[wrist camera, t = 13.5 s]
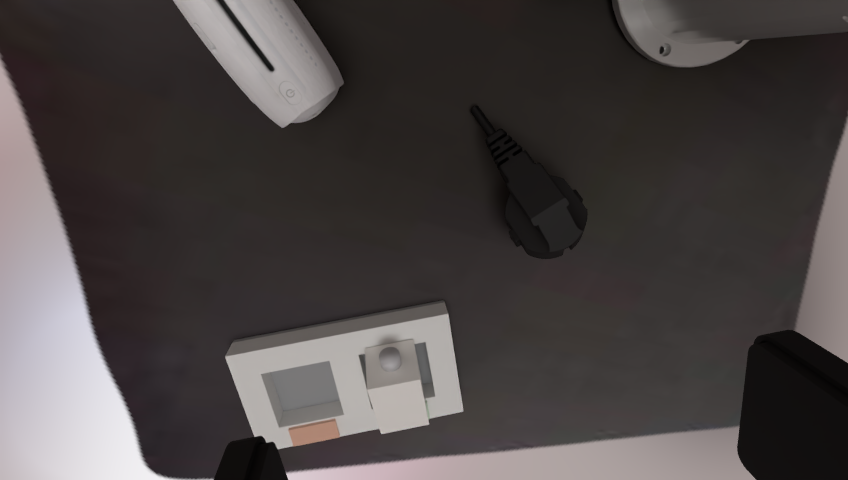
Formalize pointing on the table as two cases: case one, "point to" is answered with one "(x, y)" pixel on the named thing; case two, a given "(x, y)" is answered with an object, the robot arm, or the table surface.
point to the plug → (395, 386)
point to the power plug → (534, 198)
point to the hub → (338, 373)
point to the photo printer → (268, 54)
